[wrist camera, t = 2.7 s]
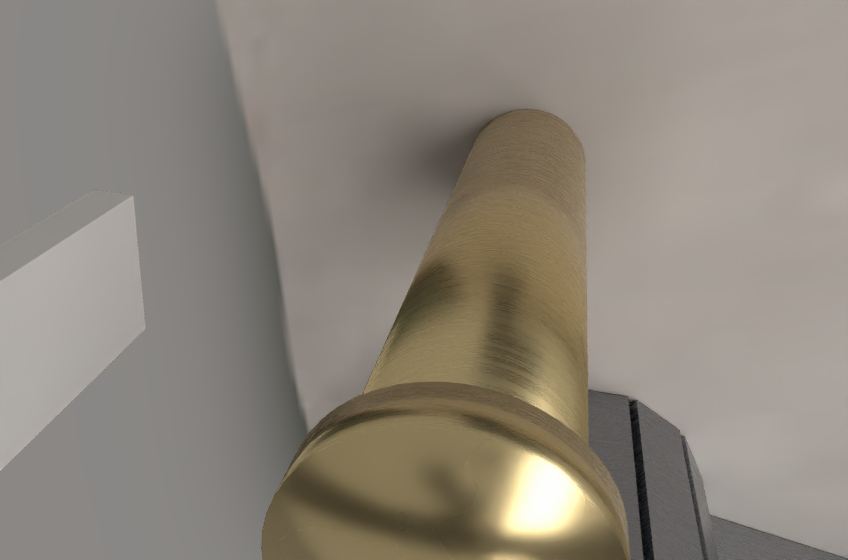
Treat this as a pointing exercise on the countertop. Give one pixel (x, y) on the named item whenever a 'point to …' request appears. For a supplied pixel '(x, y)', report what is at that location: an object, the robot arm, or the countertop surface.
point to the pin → (472, 387)
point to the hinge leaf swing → (759, 545)
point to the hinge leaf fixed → (652, 480)
